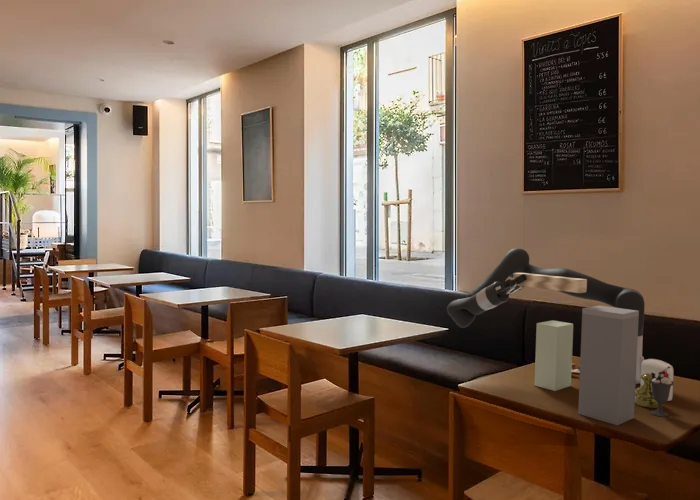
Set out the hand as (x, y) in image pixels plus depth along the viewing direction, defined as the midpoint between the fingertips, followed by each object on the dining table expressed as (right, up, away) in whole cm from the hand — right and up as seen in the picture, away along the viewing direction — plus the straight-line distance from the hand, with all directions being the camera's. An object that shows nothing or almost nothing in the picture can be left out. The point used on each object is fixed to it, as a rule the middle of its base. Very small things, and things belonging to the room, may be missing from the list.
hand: (529, 276), depth 194 cm
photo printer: (+42, -40, 0) cm, 58 cm away
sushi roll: (+26, -39, +27) cm, 54 cm away
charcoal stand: (+17, -41, -20) cm, 48 cm away
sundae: (+34, -41, -18) cm, 56 cm away
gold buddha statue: (+35, -41, -9) cm, 54 cm away
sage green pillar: (+11, -39, +10) cm, 42 cm away
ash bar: (+4, -4, -5) cm, 8 cm away
